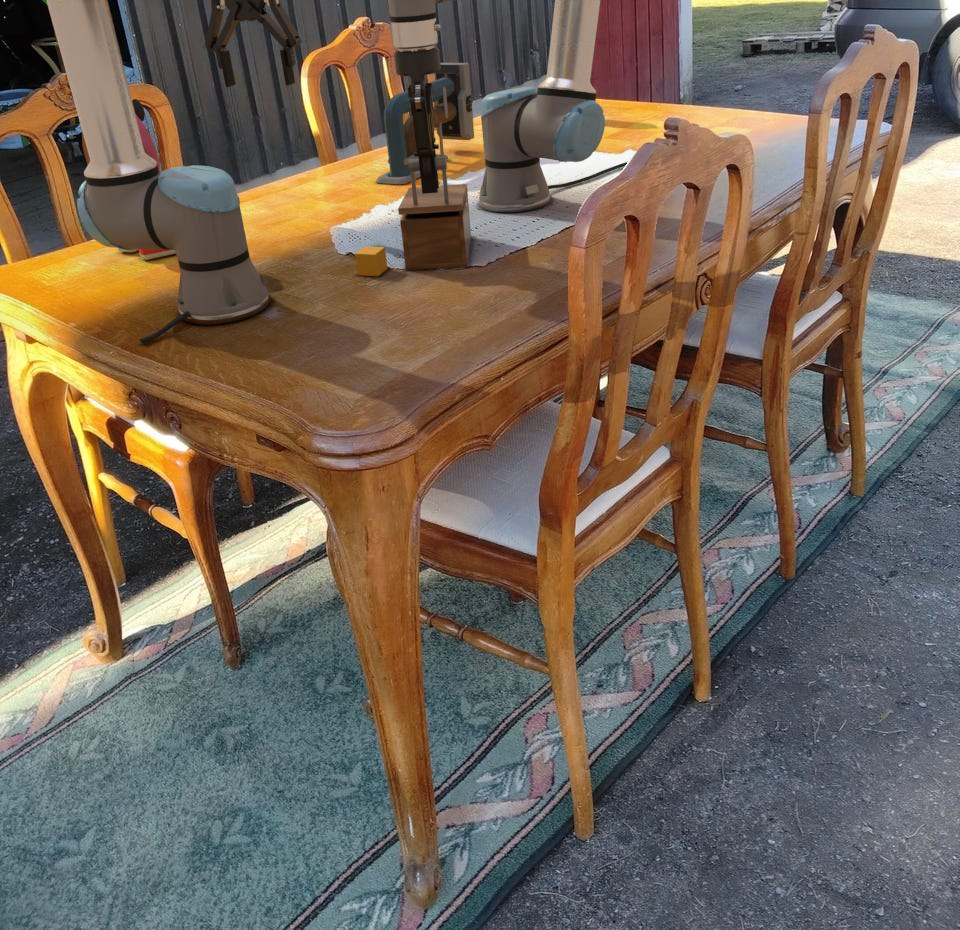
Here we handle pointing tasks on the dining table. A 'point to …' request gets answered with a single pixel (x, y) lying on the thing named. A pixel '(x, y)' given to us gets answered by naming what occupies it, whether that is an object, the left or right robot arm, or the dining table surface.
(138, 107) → the toy
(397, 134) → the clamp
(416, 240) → the chest
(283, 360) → the dining table surface
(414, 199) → the lid
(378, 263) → the block
